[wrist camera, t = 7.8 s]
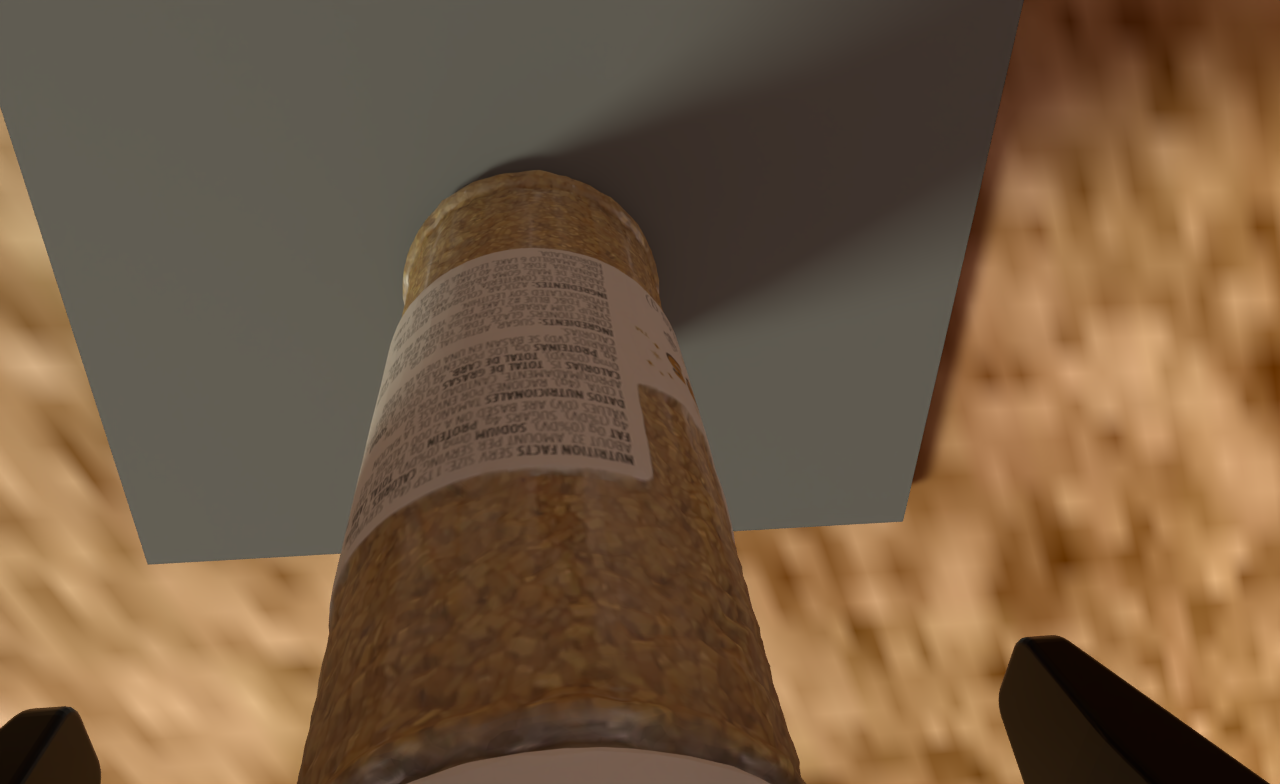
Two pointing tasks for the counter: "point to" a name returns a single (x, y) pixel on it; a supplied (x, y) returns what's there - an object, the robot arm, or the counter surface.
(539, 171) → the sprinkles bottle
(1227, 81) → the counter surface
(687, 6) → the gray tray
